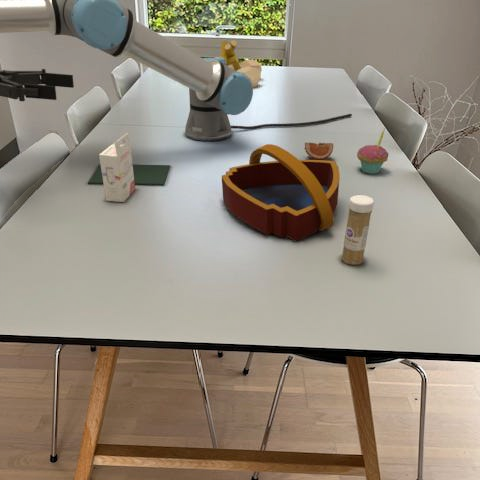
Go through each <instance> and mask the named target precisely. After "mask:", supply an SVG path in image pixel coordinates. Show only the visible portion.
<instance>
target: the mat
mask: <svg viewBox="0 0 480 480" xmlns="http://www.w3.org/2000/svg"><path fill="white" fill-rule="evenodd" d="M132 164H133V163H132ZM170 169H171V164H135V163H134V164H133V173H134V183H135V186H165V183H166V179H167V177H168V173H169V172H170ZM87 184H88V185H104V184H103V177H102V171H101V165H100V163H99V164H98V166H97V167H96V169H95V170H94V172H93V173H92V175H91V177H90V178H89V180H88V181H87Z"/></svg>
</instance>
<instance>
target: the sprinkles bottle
mask: <svg viewBox="0 0 480 480" xmlns="http://www.w3.org/2000/svg"><path fill="white" fill-rule="evenodd" d="M374 203H375V201H374V198H372V197H370V196H368V195H363V194H356V195H353V196H351V197H350V198H349V203H348V216H347V222H346V229H345V231H344V237H343V247H342V254H341V260H342V262H343V263H344V264H348V265H349V266H358V265H360V264H362V263H363V262H364V256H365V250H366V246H367V240H368V234H369V229H370V221H371V215H372V211H373V209H374Z"/></svg>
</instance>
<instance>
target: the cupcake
mask: <svg viewBox="0 0 480 480" xmlns="http://www.w3.org/2000/svg"><path fill="white" fill-rule="evenodd" d="M385 130H386V128H384V129H383V130H382V131H381V133H380V136H379V139H378V142H377V144H367V145H364V146H362V147H360V148H359V149H358V151H357V152H356V157H357V159H358V160H359V161H360V166H361V171H362V172H363V173H366V174H373V175H374V174H377V173H379V172H380V170H381V169H382V166H383V164H384V163H385V162H387V161H388V158H389V152H388V151H387V149H386V148H384V147H383V146H381V143H382V140H383V137H384V135H385Z"/></svg>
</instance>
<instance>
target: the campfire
mask: <svg viewBox="0 0 480 480" xmlns="http://www.w3.org/2000/svg"><path fill="white" fill-rule="evenodd" d="M220 45H221V50H220V56H219V57H218V58H224V59H225V60H226V64H227V65H226V66H228V67H230V68H232V69H234V70H235V71H237V72H242V73H244V74H245V75H246V76H247V77H248V78H249V79H250V80H251V83H252V87H253V88H257V86H258V85H259V83H260V81H261V78H262V72H263V71H262V64H261V63H259V62H258V61H257V60H255V59H246V60H243V61H241V63H240V62H239V57H238V56H237V55H236V53H235V49H236V48H237V45H238V44H237V41H236V40H234V39H232V40H230V42H229V43H228V41H227V40H222V41H221V44H220Z"/></svg>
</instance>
